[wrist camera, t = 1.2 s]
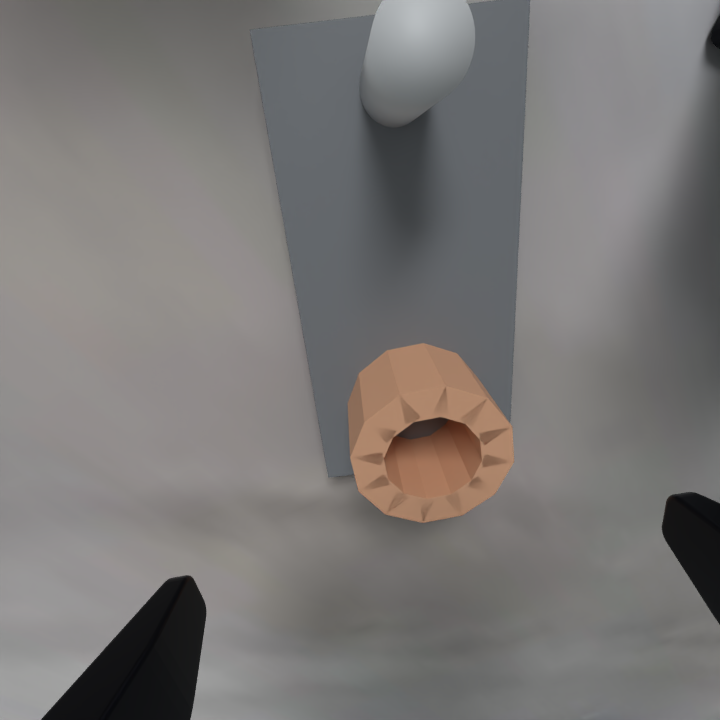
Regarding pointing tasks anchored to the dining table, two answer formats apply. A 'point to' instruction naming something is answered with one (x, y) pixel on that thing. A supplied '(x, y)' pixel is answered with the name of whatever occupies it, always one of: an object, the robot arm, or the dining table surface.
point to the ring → (431, 453)
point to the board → (400, 189)
